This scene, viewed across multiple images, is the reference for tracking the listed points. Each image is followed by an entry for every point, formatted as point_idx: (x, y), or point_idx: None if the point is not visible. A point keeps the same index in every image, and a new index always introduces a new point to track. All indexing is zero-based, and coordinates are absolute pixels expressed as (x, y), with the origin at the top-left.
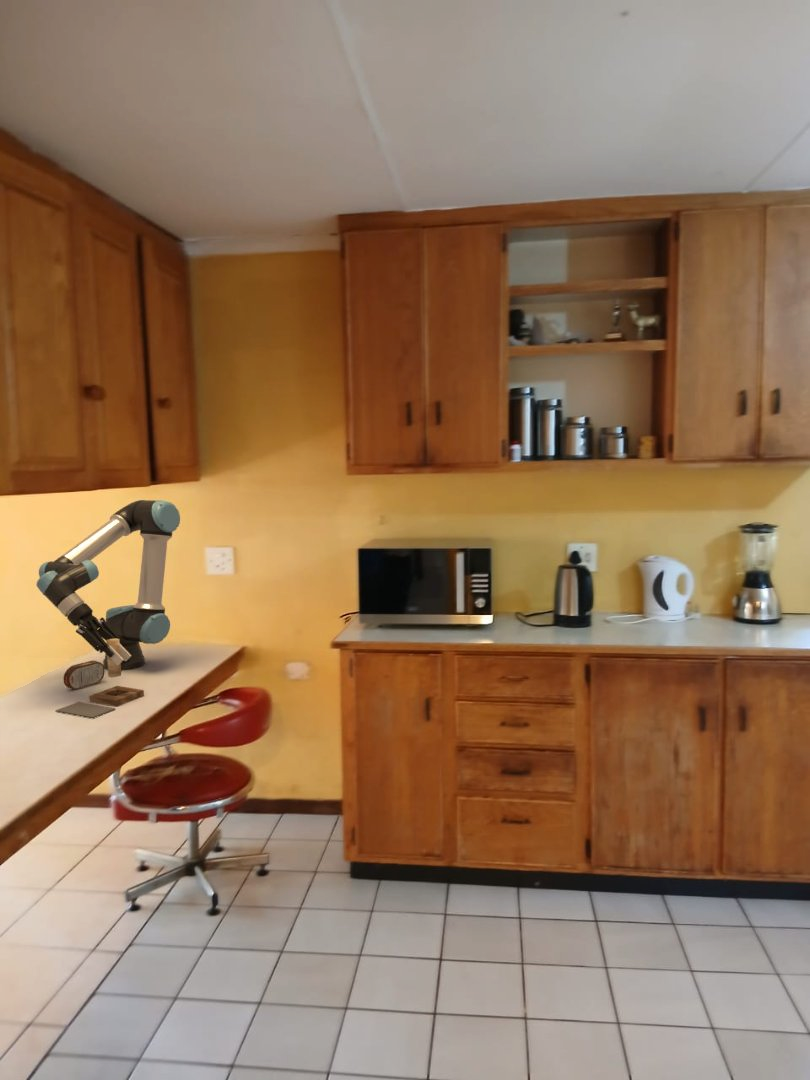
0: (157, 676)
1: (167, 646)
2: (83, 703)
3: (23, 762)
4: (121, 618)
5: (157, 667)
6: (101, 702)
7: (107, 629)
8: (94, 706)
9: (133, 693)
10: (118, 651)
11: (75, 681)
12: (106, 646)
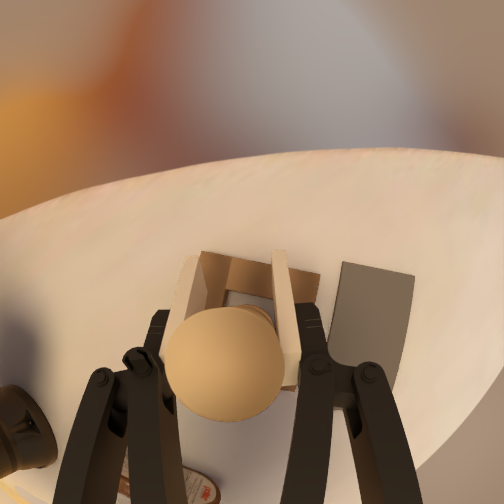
0: (55, 313)
1: None
2: None
3: None
4: None
5: (15, 346)
6: None
7: (94, 488)
8: (343, 334)
9: (242, 262)
10: (238, 306)
11: (197, 485)
12: (327, 356)
